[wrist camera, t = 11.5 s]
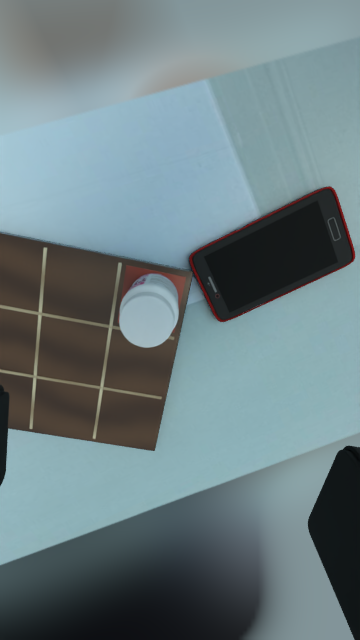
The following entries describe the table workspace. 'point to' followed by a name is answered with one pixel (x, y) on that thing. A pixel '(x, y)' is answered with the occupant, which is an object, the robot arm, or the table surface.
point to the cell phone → (274, 255)
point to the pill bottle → (149, 310)
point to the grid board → (80, 344)
